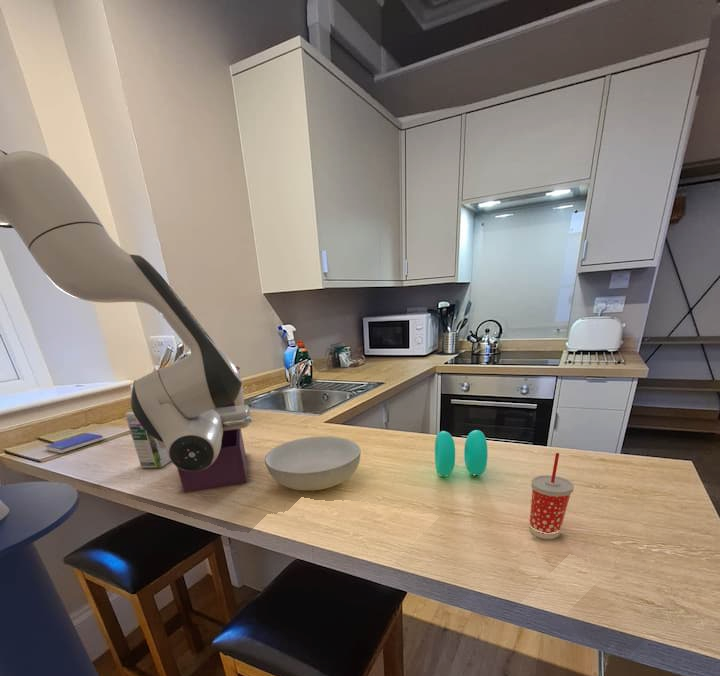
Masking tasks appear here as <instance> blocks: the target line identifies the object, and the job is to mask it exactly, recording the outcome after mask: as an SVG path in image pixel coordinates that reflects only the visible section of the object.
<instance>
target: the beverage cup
mask: <svg viewBox="0 0 720 676" xmlns="http://www.w3.org/2000/svg"><path fill="white" fill-rule="evenodd" d="M559 458H560V452H555V457H554V462H553V468H552V473H551V475H550V474H543V475H537V476H534V477H533V478H532V479H531V484H530V487H531V499H530V500H531V502H530V515H529V526H528V528H529V529H528V531H529V533H531V535H533V536H534V537H537V538H540V539H542V540H543V539H544V540H554V539H556V538H558V537H559V536H560V533H561V530H562V526H563V522H564V518H565V515H566V512H567V508H568V504H569V501H570V498H571V494H573V492H574V489H575V485H574V483H573V482H572V481H571V480H569V479H567V478H564V477H561V476H558V475H557V470H558V465H559V464H558V463H559ZM530 525H531V526H532V527H533V528H535V529H537V530H539V531H542V532H546V533H552V532H557V531H559V530H560V529H561V530H560V531H559V532H558V533H555V534H544V533H540V532H537V531H535V530H533V529H532V528H531V527H530Z"/></svg>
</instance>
